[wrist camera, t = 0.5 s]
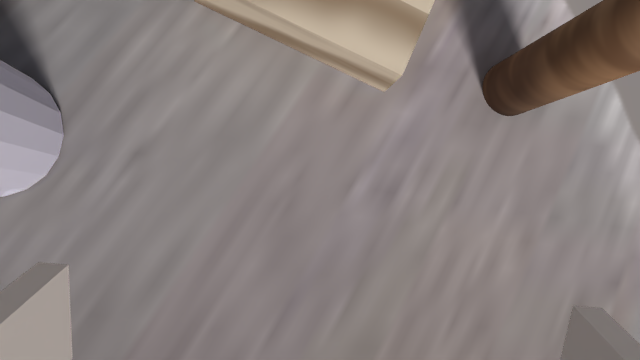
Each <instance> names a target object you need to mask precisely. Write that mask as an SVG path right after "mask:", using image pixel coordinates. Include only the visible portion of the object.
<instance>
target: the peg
mask: <svg viewBox="0 0 640 360" xmlns="http://www.w3.org/2000/svg"><path fill="white" fill-rule="evenodd" d="M637 71H640V0H603V1H601V2H600V3H598V4H596V5H595V6H593V7H591V8H590V9H588V10H586V11H585V12H583V13H581V14H580V15H578V16H576V17H575V18H573V19H571V20H570V21H568V22H566V23H565V24H563V25H561V26H560V27H558V28H556V29H555V30H553V31H551V32H550V33H548V34H546V35H545V36H543V37H541V38H540V39H538V40H536V41H535V42H533V43H531V44H530V45H528V46H526V47H525V48H523V49H521V50H520V51H518V52H516V53H515V54H513V55H511V56H510V57H508V58H506V59H505V60H503V61H502V62H500V63H498V64H497V65H495V66H493V67H492V68H491V69H490V70H489V71H488V72H487V74H486V76H485V78H484V81H483V94H484V98H485V100H486V102H487V104H488V105H489V106H490V107H491V108H492V109H493V110H494V111H495V112H497V113H499V114H501V115H505V116H514V115H518V114H521V113H524V112H526V111H529V110H532V109H535V108H538V107H540V106H543V105H546V104H549V103H551V102H554V101H557V100H560V99H562V98H565V97H568V96H571V95H574V94H576V93H579V92H582V91H585V90H587V89H590V88H593V87H596V86H599V85H601V84H604V83H607V82H610V81H612V80H615V79H618V78H621V77H624V76H626V75H629V74H632V73H634V72H637Z"/></svg>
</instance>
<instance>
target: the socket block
mask: <svg viewBox="0 0 640 360" xmlns="http://www.w3.org/2000/svg"><path fill="white" fill-rule="evenodd" d="M194 1H195V2H197V3H199V4H201V5H203V6H206V7H208V8H210V9H212V10H214V11H216V12H218V13H220V14H222V15H224V16H226V17H229V18H231V19H233V20H235V21H237V22H239V23H241V24H243V25H245V26H247V27H249V28H252V29H254V30H256V31H258V32H260V33H262V34H264V35H266V36H268V37H270V38H273V39H275V40H277V41H279V42H281V43H283V44H285V45H287V46H289V47H291V48H293V49H296V50H298V51H300V52H302V53H304V54H306V55H308V56H310V57H312V58H314V59H316V60H319V61H321V62H323V63H325V64H327V65H329V66H331V67H333V68H335V69H337V70H339V71H342V72H344V73H346V74H348V75H350V76H352V77H354V78H356V79H358V80H360V81H363V82H365V83H367V84H369V85H371V86H373V87H375V88H377V89H379V90H381V91H383V92H385V91H386V90H387V89H388V88H389V87H390V86H391V85H392V84H394V83H395V82H396V81H397V80H398V79H399V78H400V77H401V76H402V75H403V72H404V70H405V68H406V66H407V63H408V61H409V59H410V56H411V54H412V52H413V50H414V47H415V45H416V43H417V40H418V38H419V36H420V34H421V31H422V29H423V27H424V24H425V22H426V20H427V18H428V15H429V13H430V11H431V8H432V6H433V4H434V2H435V0H194Z"/></svg>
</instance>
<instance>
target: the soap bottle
mask: <svg viewBox="0 0 640 360" xmlns="http://www.w3.org/2000/svg"><path fill="white" fill-rule="evenodd" d="M63 136H64V133H63V125H62V118H61V113H60V111H59V109H58V107H57V105H56V103H55V102H54V100H53V98H52V96H51V94H50V93H49V92H48V91H46V90H45V89H44V88H43V87H42V86H41V85H39V84H38V83H37V82H36V81H35V80H34V79H32V78H31V77H29V76H27V75H25V74H24V73H22V72H20V71H18V70H17V69H15V68H13V67H12V66H10V65H8V64H6V63H5V62H3V61H1V60H0V196H7V195H11V194H14V193H17V192H20V191H23V190H26V189H28V188H30V187H31V186H32V185H34V184H35V183H36V182H38V181H39V180H40V179H42V178H43V177H44V176H46V175H47V173H48V172H49V170H50V169H51V167H52V166H53V164H54V163H55V161H56V160H57V158H58V157H59V153H60V149H61V145H62V140H63Z"/></svg>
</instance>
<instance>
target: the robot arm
mask: <svg viewBox="0 0 640 360" xmlns="http://www.w3.org/2000/svg"><path fill="white" fill-rule="evenodd" d="M0 360H72V335H71V313H70V290H69V267H68V265H67V264H55V263H42V262H38V263H37V264H35V265H34V266H33V267H32V268H30V269H29V270H28V271H26V272H25V273H24V274H23V275H21V276H20V277H19V278H17V279H16V280H15V281H13V282H12V283H11V284H10V285H8V286H7V287H6V288H4V289H3V290H2V291H1V292H0ZM560 360H640V344H639V343H638V342H637V341H636V340H635V339H634V338H633V337H632V336H631V335H630V334H629V333H628V332H627V331H626V330H624V329H623V328H622V327H621V326H620V325H619V324H618V323H617V322H616V321H615V320H614V319H613V318H612V317H611V316H610V315H609V314H608V313H607V312H606V311H605V310H604V309H602V308H596V307H583V306H573V308H572V312H571V316H570V321H569V325H568V329H567V333H566V337H565V342H564V346H563V350H562V354H561V359H560Z"/></svg>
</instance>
